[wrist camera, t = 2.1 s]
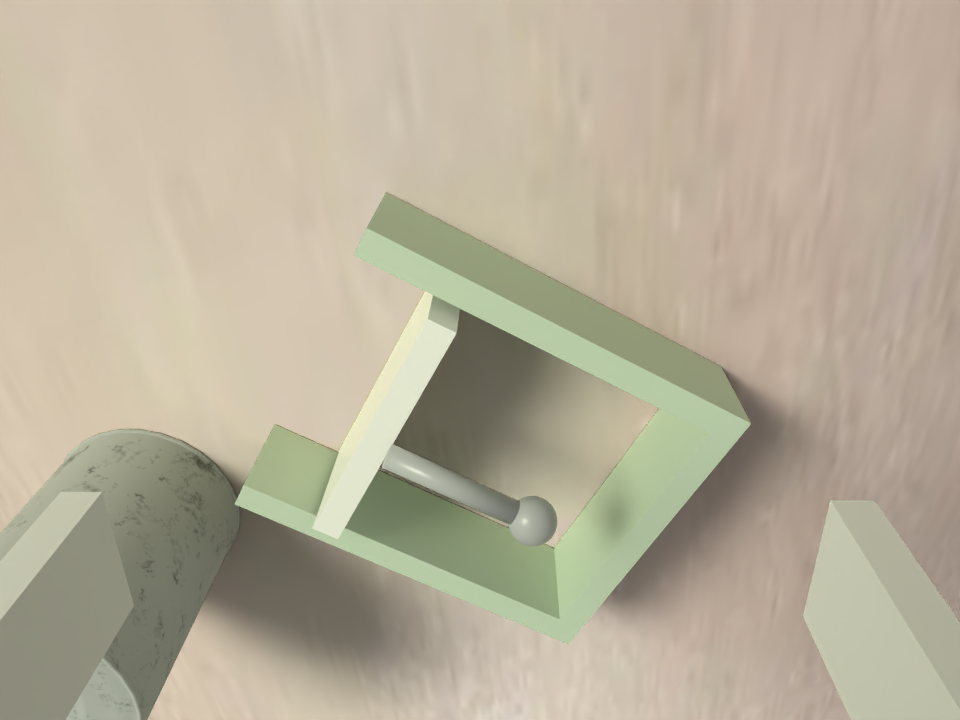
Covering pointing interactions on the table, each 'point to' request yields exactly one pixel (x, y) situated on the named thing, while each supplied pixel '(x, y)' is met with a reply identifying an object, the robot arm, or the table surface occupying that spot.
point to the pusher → (374, 443)
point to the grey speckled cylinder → (145, 553)
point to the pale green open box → (477, 540)
